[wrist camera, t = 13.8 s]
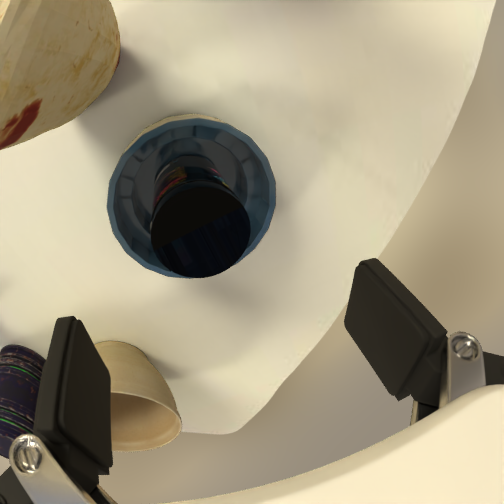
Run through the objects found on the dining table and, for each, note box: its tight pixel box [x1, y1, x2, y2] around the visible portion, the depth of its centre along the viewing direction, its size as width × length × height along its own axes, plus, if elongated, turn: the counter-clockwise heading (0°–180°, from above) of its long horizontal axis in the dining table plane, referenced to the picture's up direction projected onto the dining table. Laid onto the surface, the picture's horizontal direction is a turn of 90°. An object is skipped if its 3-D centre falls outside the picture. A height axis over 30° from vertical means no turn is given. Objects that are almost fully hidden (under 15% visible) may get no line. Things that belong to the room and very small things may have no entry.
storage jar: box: [0, 345, 46, 459], centre depth 28 cm, size 10×10×15 cm
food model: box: [0, 0, 120, 150], centre depth 12 cm, size 10×7×20 cm
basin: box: [107, 113, 276, 279], centre depth 27 cm, size 14×14×6 cm
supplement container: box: [151, 155, 251, 278], centre depth 24 cm, size 7×7×10 cm
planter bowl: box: [94, 341, 182, 452], centre depth 34 cm, size 16×16×11 cm
